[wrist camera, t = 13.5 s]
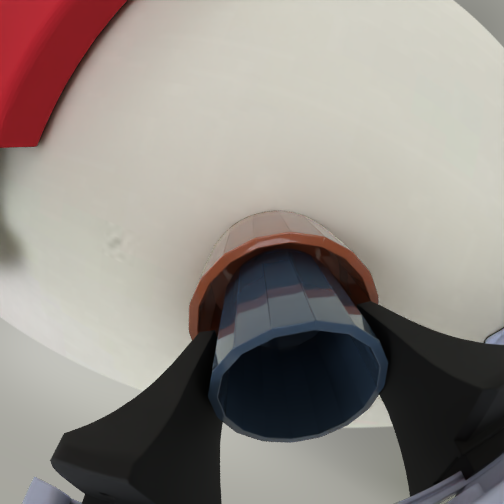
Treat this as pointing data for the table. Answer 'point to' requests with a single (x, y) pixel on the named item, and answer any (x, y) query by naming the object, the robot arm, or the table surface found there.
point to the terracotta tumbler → (268, 238)
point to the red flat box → (42, 58)
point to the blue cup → (292, 351)
